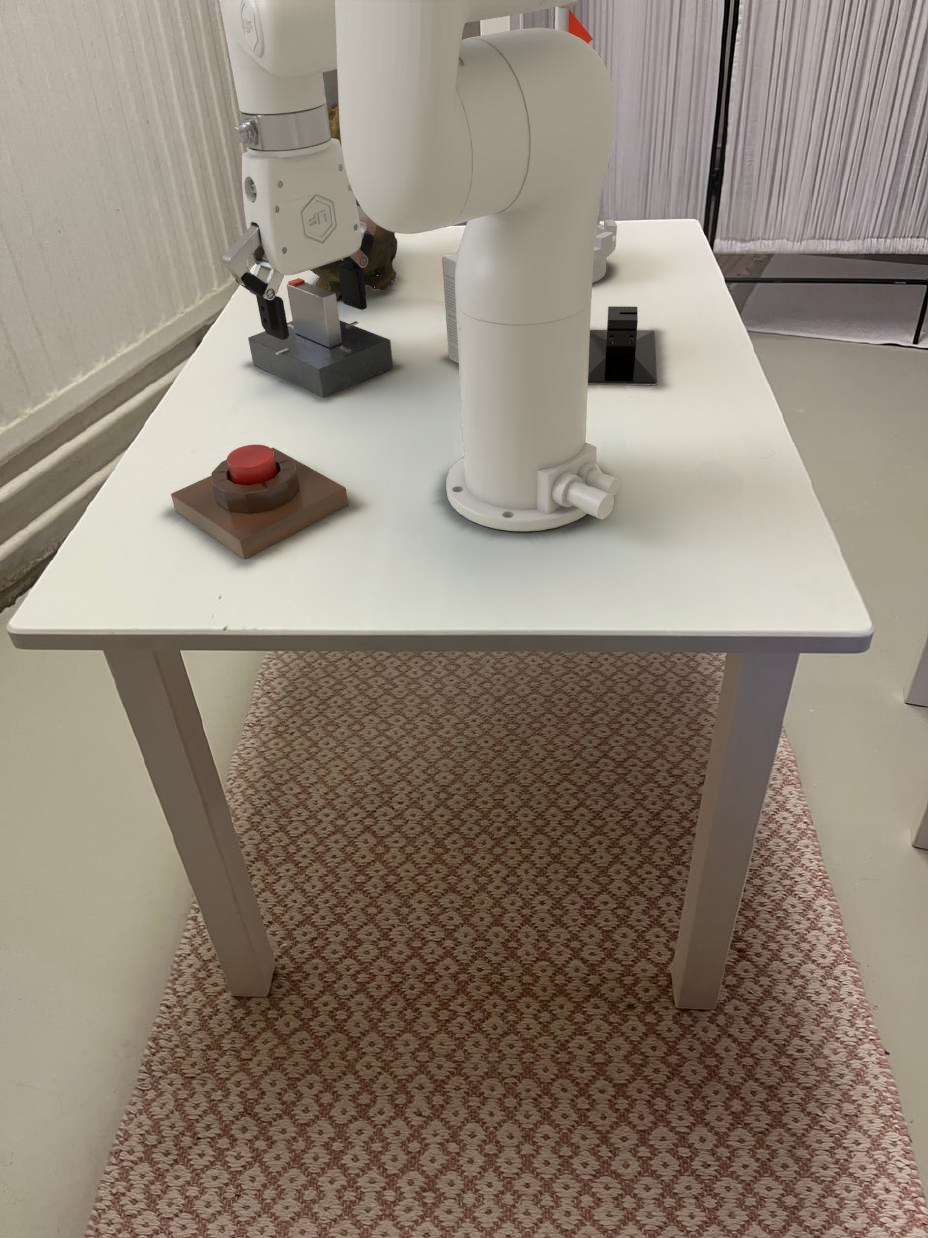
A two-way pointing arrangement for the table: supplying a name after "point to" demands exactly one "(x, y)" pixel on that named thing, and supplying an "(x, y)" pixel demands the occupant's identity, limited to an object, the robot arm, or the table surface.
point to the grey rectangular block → (314, 313)
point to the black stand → (622, 351)
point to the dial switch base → (323, 358)
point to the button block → (259, 505)
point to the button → (252, 464)
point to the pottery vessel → (378, 255)
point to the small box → (450, 304)
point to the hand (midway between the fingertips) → (317, 320)
